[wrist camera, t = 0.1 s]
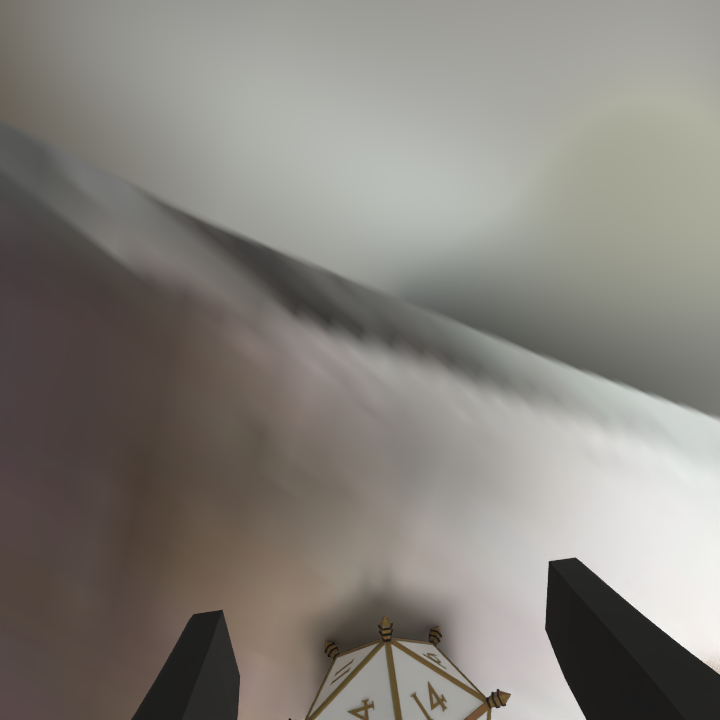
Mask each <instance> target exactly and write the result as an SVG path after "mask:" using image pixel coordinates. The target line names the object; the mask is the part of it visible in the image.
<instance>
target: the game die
mask: <svg viewBox="0 0 720 720" xmlns="http://www.w3.org/2000/svg"><path fill="white" fill-rule="evenodd" d="M392 625H393V623H390V622H389V620H388V619H387V618H386V617H385V616H384V618H383V619H382V621H381V623H380V624H379V625H378V627H379V628H380V631H379V633H380V634H381V635H382V638H381V639H379V640H376V641H373V642H371V643H368V644H365V645H363V646H360V647H357V648H355V649H352V650H349V651H347V652H344V653H341V654H339V653H338V648H337V647H336V646H335V643H334V642H333V643H331V642H327V641H325V653H327V654H328V657H331V658H333V662H332V665H331V667H330V669H329V671H328V673H327V675H326V677H325V679H324V681H323V683H322V685H321V687H320V689H319V691H318V693H317V696H316V698H315V700H314V702H313V704H312V706H311V708H310V710H309V712H308V714H307V716H306V718H305V720H491V708H492V707H496V708H500V706H506V702H507V700H508V699H509V697H510V695H511V694H509V693H505V692H502V691H500V690H499V689H497V692H495V693H494V692H492V694H491V695H490V696H489V697H485V696H484V695H483V694H482V693H481V692H480V691H479V690H478V689H477V688H476V687H475V686H474V685H473V683H472V682H471V681H470V680H469V679H468V678H467V677H466V676H465V675H464V674H463V673H462V672H461V671H460V670H459V669H458V668H457V667H456V666H455V665H454V664H453V663H452V662H451V661H450V660H449V659H448V658H447V657H446V656H445V655H444V654H443V653H442V652H441V651H440V650H439V648H438V647H437V646H436V644H437V643H438V642H440V638H441V637H442V635H441V633H440V630H439V626H438V627H436V628H434V629H433V630H432V629H431V632H430V634H429V640H430V641H429V642H425V641H417V640H409V639H401V638H392V637H391V634H392V632H393V629H392ZM289 720H291V719H290V718H289Z"/></svg>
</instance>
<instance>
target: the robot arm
mask: <svg viewBox="0 0 720 720" xmlns="http://www.w3.org/2000/svg"><path fill="white" fill-rule="evenodd" d="M545 630H546V632H547V635H548V637H549V640H550V642H551V645H552V648H553V650H554V653H555V655H556V658H557V660H558V663H559V665H560V667H561V670H562V672H563V675H564V677H565V679H566V681H567V683H568V685H569V687H570V689H571V691H572V693H573V695H574V697H575V699H576V701H577V702H578V704H579V706H580V708H581V710H582V712H583V714H584V716H585V718H586V720H720V674H718V673H717V672H716V671H714V670H713V669H712V668H710V667H709V666H707V665H706V664H705V663H703V662H702V661H701V660H699V659H698V658H697V657H695V656H694V655H693V654H691V653H690V652H689V651H688V650H686V649H685V648H684V647H682V646H681V645H680V644H679V643H677V642H676V641H675V640H673V639H672V638H671V637H670V636H669V635H667V634H666V633H665V632H664V631H662V630H661V629H660V628H659V627H657V626H656V625H655V624H654V623H652V622H651V621H650V620H649V619H647V618H646V617H645V616H644V615H643V614H641V613H640V612H639V611H638V610H637V609H635V608H634V607H633V606H632V605H631V604H629V603H628V602H627V601H626V600H625V599H624V598H622V597H621V596H620V595H619V594H618V593H616V592H615V591H614V590H613V589H612V588H611V587H610V586H608V585H607V584H606V583H605V582H604V581H603V580H601V579H600V578H599V577H598V576H597V575H596V574H594V573H593V572H592V571H591V570H590V569H589V568H588V567H586V566H585V565H584V564H583V563H582V562H580V561H579V560H578V559H577V558H569V559H562V560H555V561H549V568H548V587H547V606H546V624H545ZM239 685H240V675H239V671H238V667H237V663H236V659H235V656H234V652H233V648H232V644H231V641H230V637H229V633H228V629H227V625H226V622H225V618H224V614H223V610H219V611H212V612H205V613H199V614H194V615H193V616H192V617H191V618H190V619H189V621H188V623H187V625H186V627H185V629H184V631H183V632H182V634H181V636H180V638H179V640H178V642H177V643H176V645H175V647H174V649H173V651H172V652H171V654H170V656H169V658H168V659H167V661H166V663H165V665H164V666H163V668H162V670H161V672H160V673H159V675H158V677H157V678H156V680H155V682H154V684H153V685H152V687H151V688H150V690H149V692H148V693H147V695H146V697H145V698H144V700H143V702H142V703H141V705H140V706H139V708H138V710H137V711H136V713H135V715H134V716H133V718H132V719H131V720H237V716H238V702H239Z"/></svg>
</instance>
